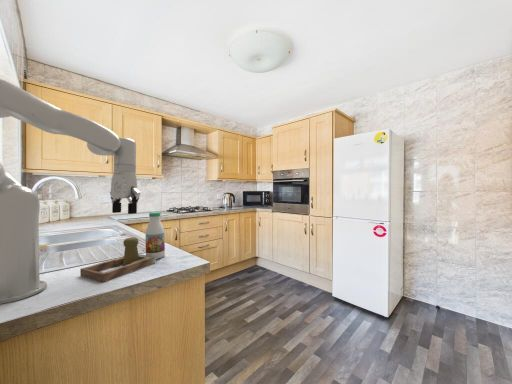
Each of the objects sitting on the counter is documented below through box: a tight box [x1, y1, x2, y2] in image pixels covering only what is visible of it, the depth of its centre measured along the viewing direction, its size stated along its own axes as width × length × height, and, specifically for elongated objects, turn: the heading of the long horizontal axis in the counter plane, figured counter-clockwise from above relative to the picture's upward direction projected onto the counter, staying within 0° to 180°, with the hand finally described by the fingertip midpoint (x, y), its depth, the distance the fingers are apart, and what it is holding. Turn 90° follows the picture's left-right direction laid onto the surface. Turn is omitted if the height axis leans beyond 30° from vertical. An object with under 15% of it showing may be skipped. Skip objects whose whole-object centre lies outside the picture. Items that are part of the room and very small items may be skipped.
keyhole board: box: [79, 253, 156, 283], centre depth 81 cm, size 20×13×2 cm, turn 155°
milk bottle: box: [145, 211, 166, 260], centre depth 95 cm, size 8×8×20 cm
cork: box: [122, 236, 139, 266], centre depth 85 cm, size 6×6×11 cm
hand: (124, 213), depth 84 cm, fingers open, 9 cm apart
